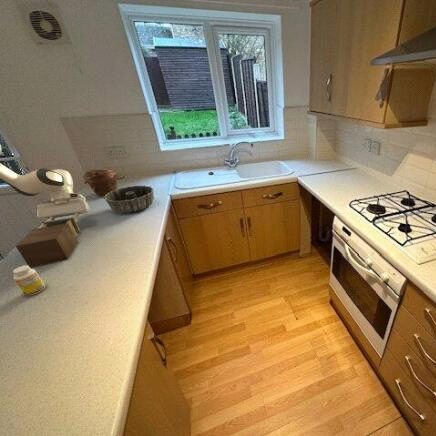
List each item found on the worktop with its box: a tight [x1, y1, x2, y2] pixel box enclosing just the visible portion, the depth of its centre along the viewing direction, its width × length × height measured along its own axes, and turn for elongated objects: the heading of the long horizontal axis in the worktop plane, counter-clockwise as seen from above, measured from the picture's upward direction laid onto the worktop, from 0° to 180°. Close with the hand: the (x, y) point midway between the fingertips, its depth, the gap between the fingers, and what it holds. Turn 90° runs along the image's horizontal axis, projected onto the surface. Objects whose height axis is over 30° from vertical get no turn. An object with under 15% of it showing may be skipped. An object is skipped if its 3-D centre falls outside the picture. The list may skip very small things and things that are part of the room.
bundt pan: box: [103, 185, 155, 214], centre depth 150 cm, size 26×26×10 cm
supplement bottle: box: [12, 264, 46, 296], centre depth 86 cm, size 6×6×10 cm
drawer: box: [40, 216, 82, 239], centre depth 115 cm, size 18×12×9 cm, turn 25°
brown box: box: [15, 223, 79, 268], centre depth 106 cm, size 15×13×11 cm
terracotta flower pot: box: [83, 169, 118, 198], centre depth 170 cm, size 18×20×18 cm
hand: (65, 223), depth 122 cm, fingers closed on drawer, 6 cm apart
